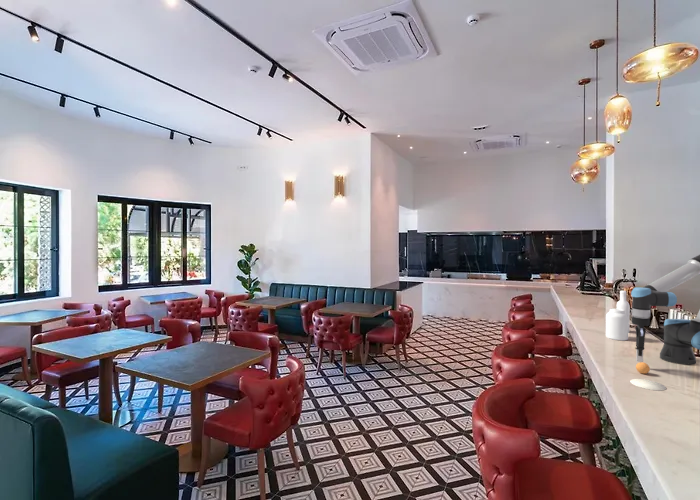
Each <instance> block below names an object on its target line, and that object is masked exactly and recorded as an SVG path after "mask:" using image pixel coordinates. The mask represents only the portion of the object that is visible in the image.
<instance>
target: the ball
mask: <svg viewBox="0 0 700 500" xmlns="http://www.w3.org/2000/svg"><path fill="white" fill-rule="evenodd" d="M635 369H636V371H637V372H638V373H640V374H648V373H649V372H650V370H651V368H650V365H648V364H647V362H644V361H643V362H637V363H636V365H635Z"/></svg>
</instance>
